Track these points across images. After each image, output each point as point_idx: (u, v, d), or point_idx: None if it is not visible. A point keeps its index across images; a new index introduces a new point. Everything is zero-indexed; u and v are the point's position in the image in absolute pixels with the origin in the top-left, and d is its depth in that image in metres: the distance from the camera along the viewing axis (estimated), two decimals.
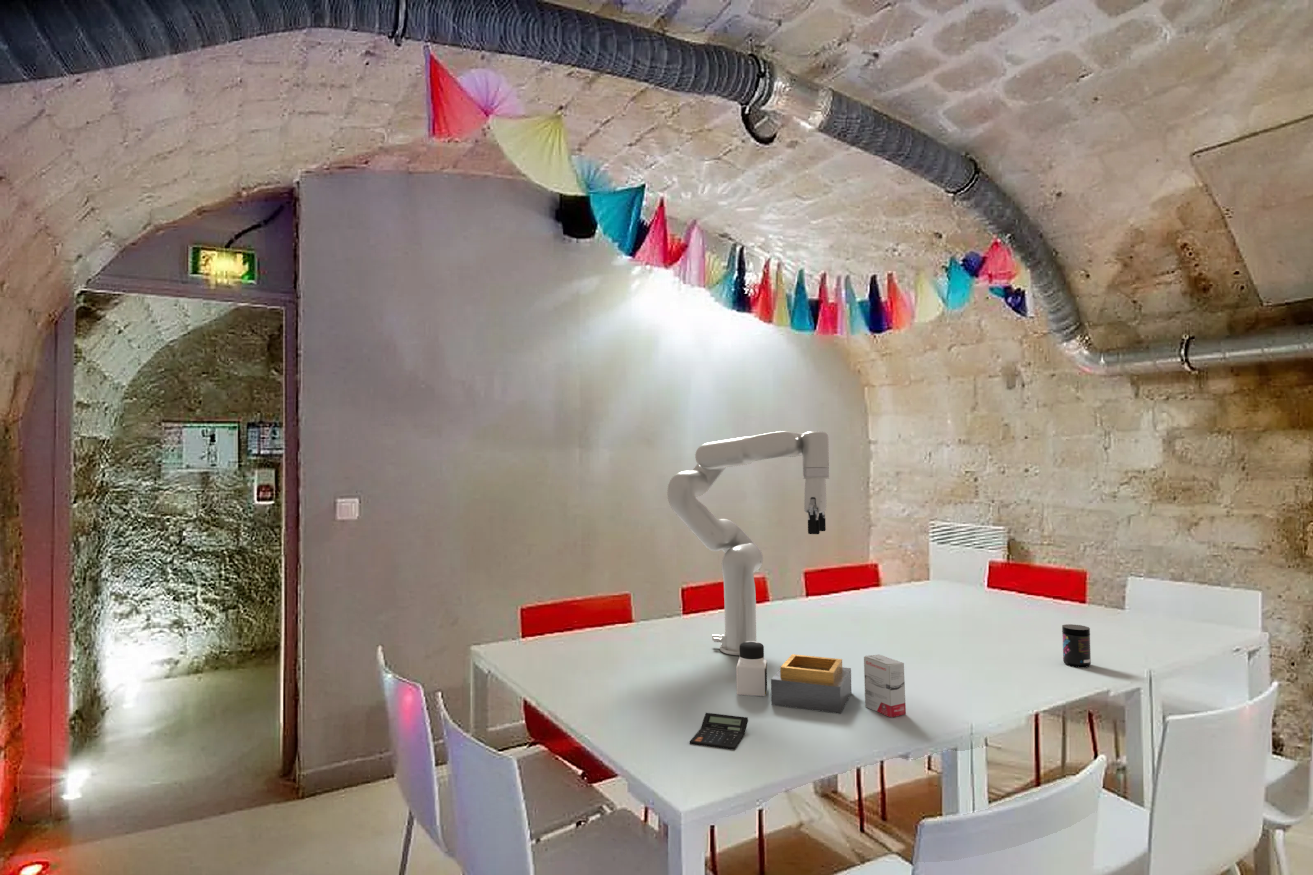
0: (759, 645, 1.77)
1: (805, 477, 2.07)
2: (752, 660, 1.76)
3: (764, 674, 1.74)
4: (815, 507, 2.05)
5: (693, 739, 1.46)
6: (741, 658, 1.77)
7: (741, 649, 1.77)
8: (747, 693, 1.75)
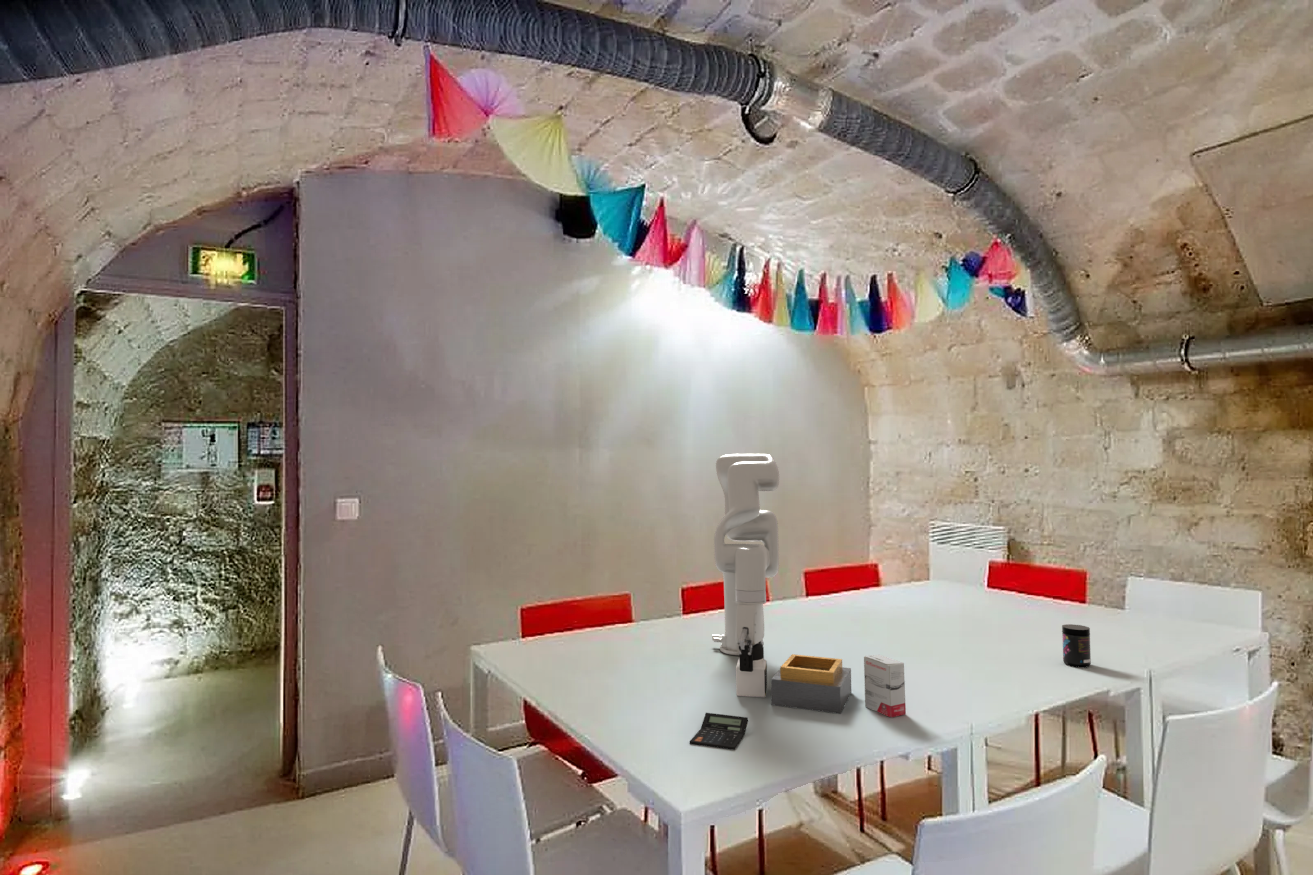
0: (758, 646, 1.76)
1: (737, 601, 1.77)
2: None
3: (764, 675, 1.74)
4: (748, 638, 1.75)
5: (693, 739, 1.46)
6: None
7: None
8: (747, 694, 1.74)
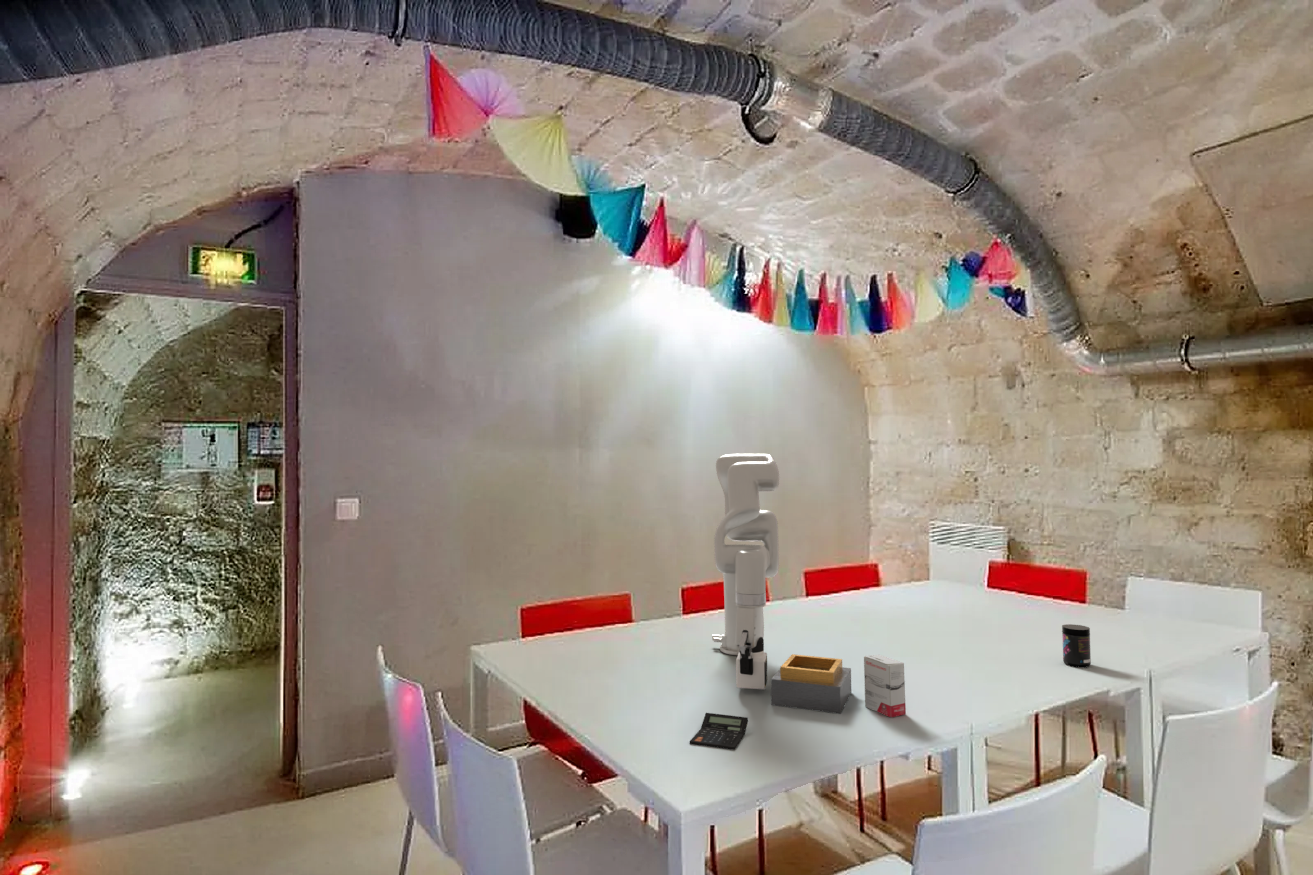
0: (759, 639, 1.78)
1: (737, 604, 1.78)
2: (752, 653, 1.76)
3: (764, 667, 1.75)
4: (748, 640, 1.76)
5: (693, 739, 1.46)
6: None
7: None
8: (747, 686, 1.76)
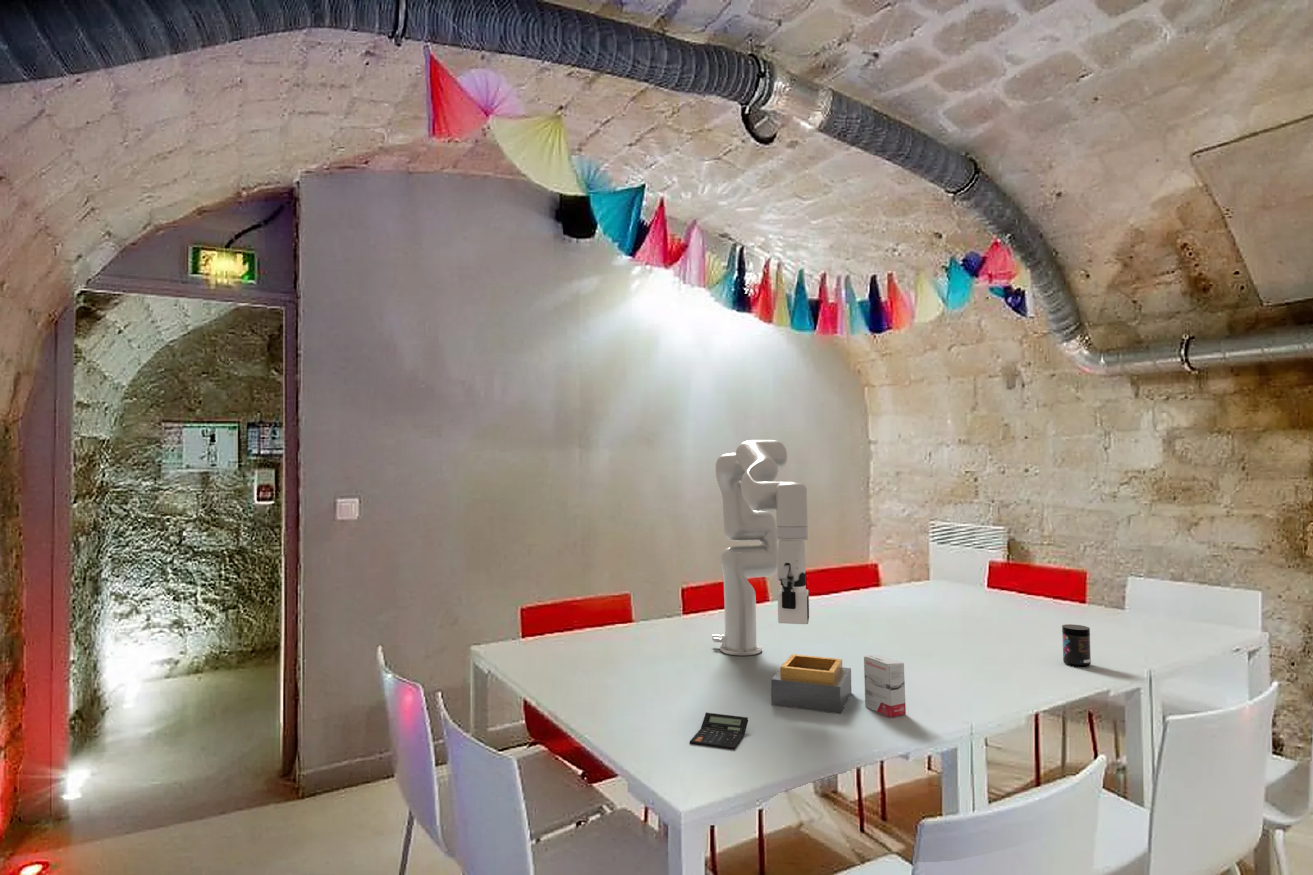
0: (801, 573, 1.73)
1: (779, 538, 1.74)
2: (794, 588, 1.72)
3: (806, 602, 1.71)
4: (790, 574, 1.72)
5: (693, 739, 1.46)
6: None
7: None
8: (789, 621, 1.71)
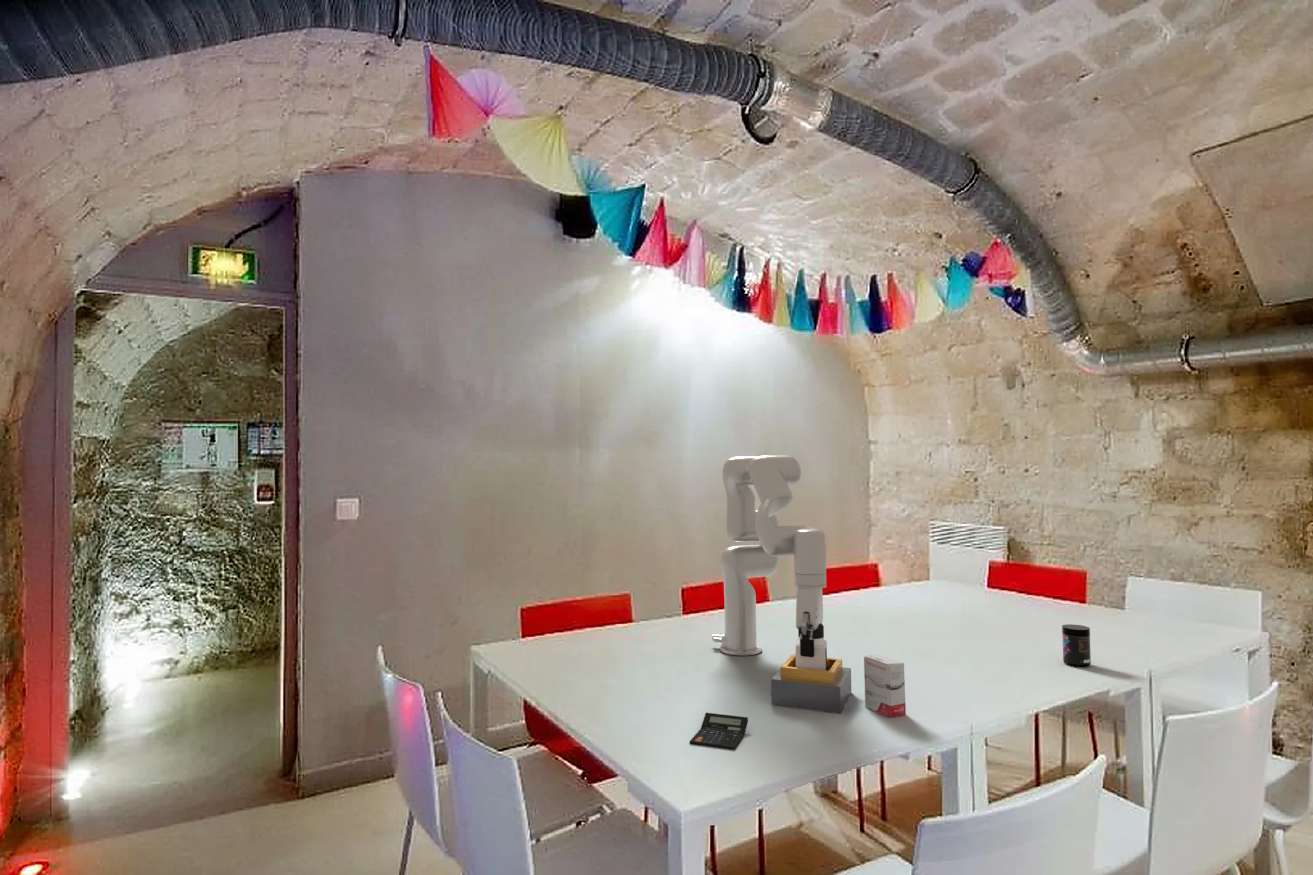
0: (819, 625, 1.71)
1: (797, 585, 1.72)
2: None
3: (825, 654, 1.69)
4: (809, 623, 1.70)
5: (693, 739, 1.46)
6: None
7: (800, 629, 1.72)
8: None
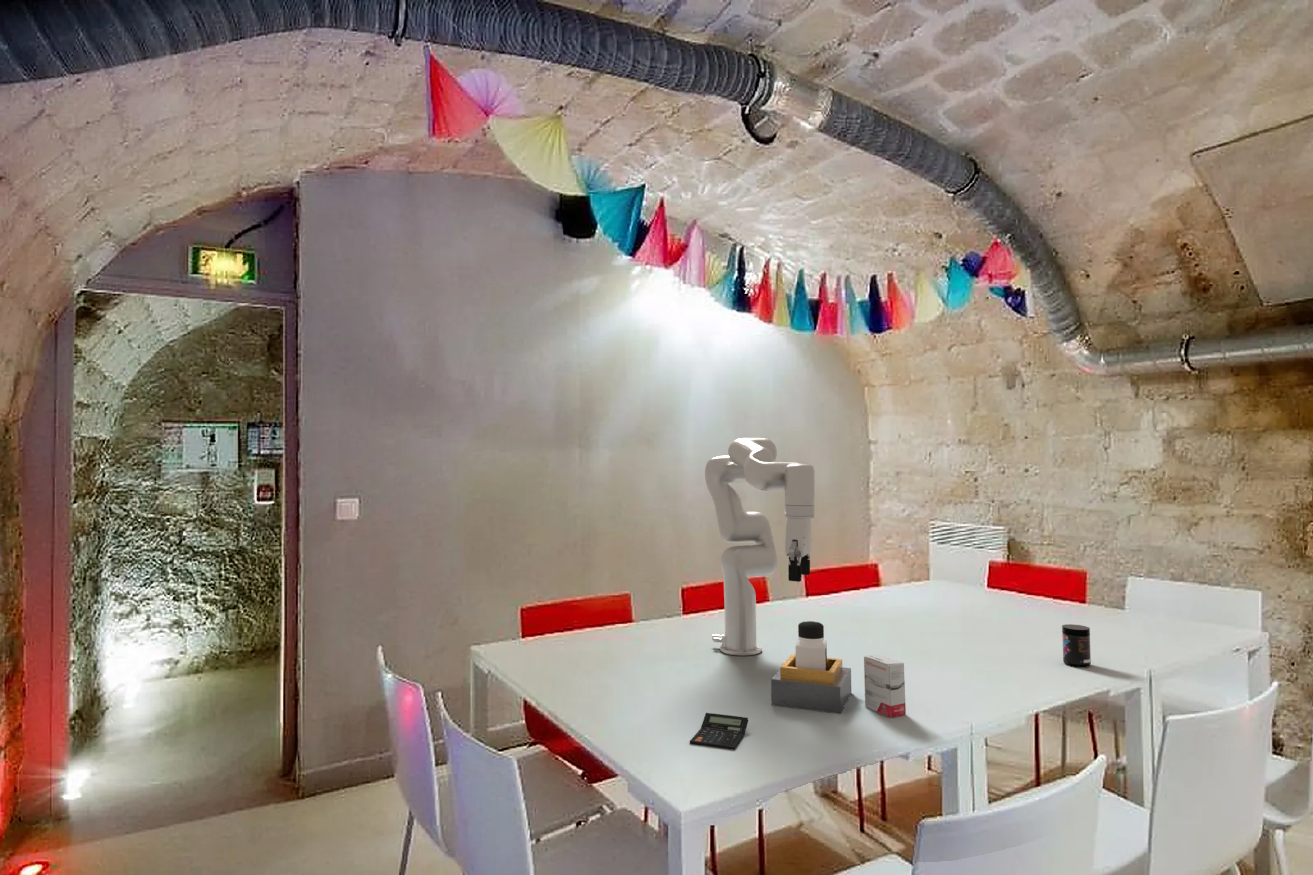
0: (819, 625, 1.71)
1: (787, 516, 1.84)
2: (812, 640, 1.70)
3: (825, 654, 1.69)
4: (797, 550, 1.82)
5: (693, 739, 1.46)
6: (800, 638, 1.72)
7: (800, 629, 1.72)
8: None
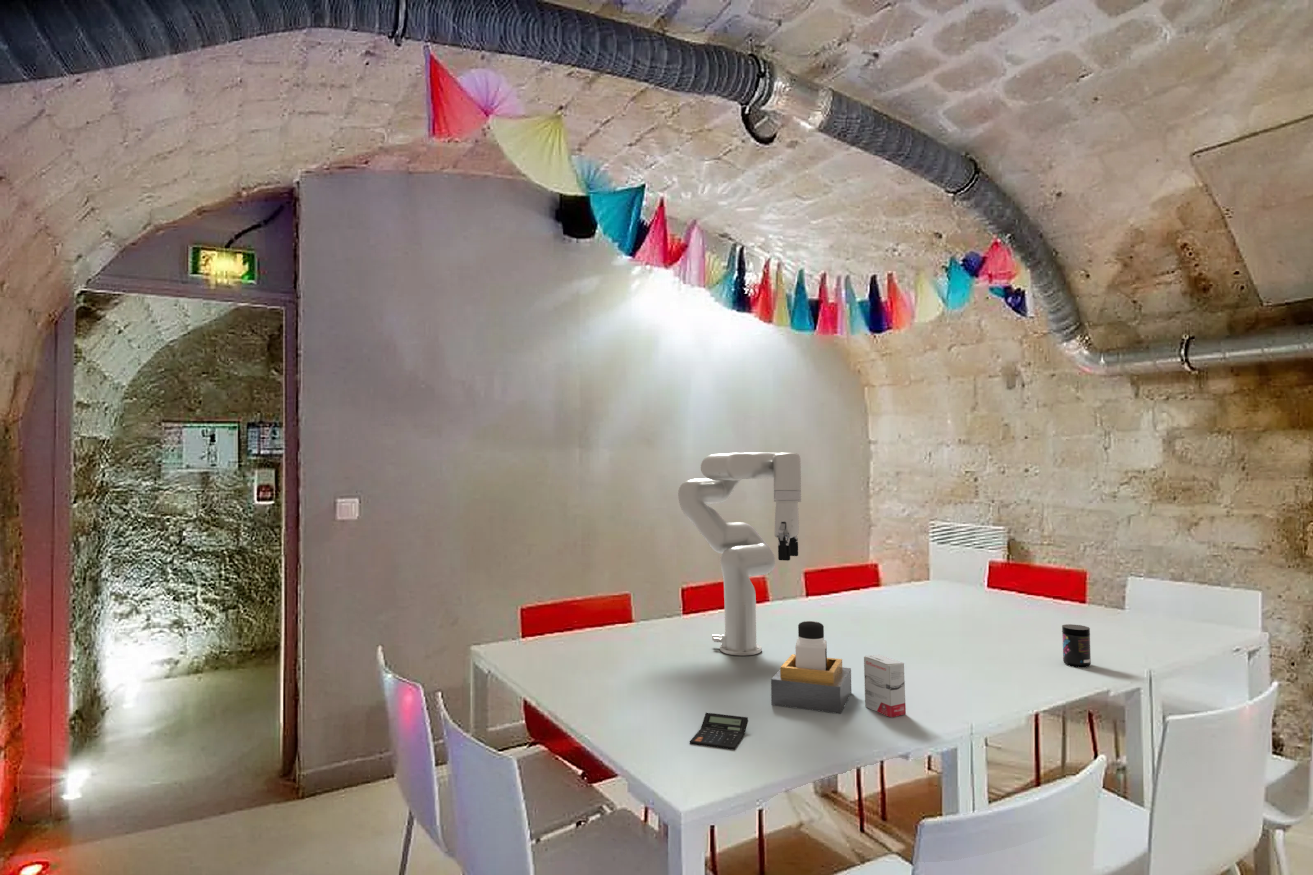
0: (819, 625, 1.71)
1: (776, 500, 1.99)
2: (812, 640, 1.70)
3: (825, 654, 1.69)
4: (786, 532, 1.97)
5: (693, 739, 1.46)
6: (800, 638, 1.72)
7: (800, 629, 1.72)
8: None
